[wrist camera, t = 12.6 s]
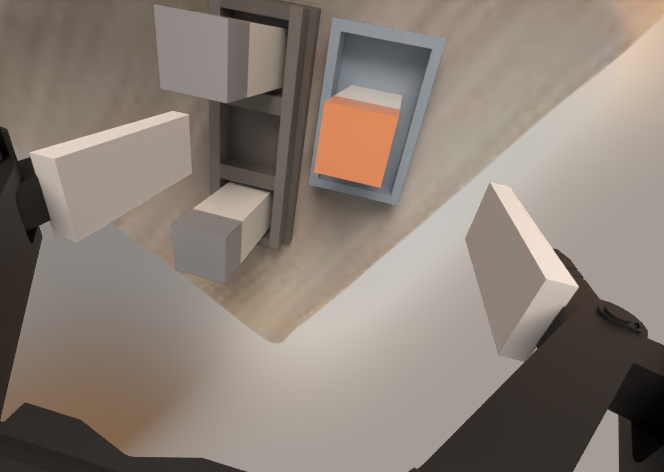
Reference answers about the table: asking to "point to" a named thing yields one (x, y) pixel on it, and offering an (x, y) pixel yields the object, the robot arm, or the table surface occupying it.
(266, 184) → the block
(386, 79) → the tray
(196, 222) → the block
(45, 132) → the table surface
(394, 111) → the block
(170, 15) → the block
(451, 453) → the robot arm
